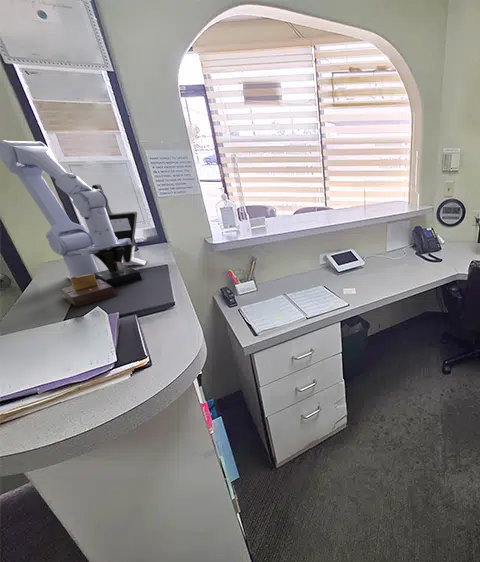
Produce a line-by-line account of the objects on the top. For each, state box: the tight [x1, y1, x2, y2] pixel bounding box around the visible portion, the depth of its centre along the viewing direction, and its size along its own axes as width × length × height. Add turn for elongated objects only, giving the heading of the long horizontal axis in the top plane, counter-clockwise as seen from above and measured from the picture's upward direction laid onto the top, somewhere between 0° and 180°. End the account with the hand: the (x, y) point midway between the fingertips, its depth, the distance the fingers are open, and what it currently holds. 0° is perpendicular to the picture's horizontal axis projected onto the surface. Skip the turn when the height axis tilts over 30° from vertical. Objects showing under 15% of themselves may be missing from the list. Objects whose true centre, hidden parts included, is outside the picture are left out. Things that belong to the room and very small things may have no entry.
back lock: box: [109, 261, 124, 273], centre depth 102 cm, size 5×1×4 cm, turn 74°
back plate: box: [94, 265, 143, 288], centre depth 103 cm, size 12×9×3 cm
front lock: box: [69, 273, 98, 291], centre depth 89 cm, size 5×1×4 cm, turn 146°
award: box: [88, 183, 147, 266], centre depth 113 cm, size 15×5×30 cm, turn 117°
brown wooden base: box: [60, 279, 117, 308], centre depth 91 cm, size 12×9×3 cm
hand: (116, 270), depth 102 cm, fingers closed on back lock
